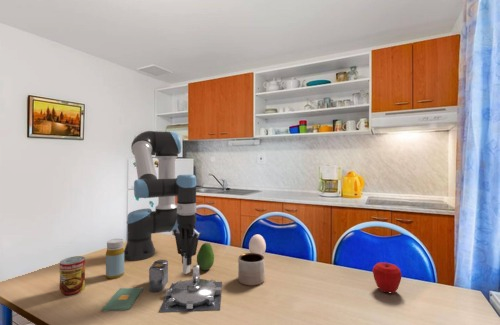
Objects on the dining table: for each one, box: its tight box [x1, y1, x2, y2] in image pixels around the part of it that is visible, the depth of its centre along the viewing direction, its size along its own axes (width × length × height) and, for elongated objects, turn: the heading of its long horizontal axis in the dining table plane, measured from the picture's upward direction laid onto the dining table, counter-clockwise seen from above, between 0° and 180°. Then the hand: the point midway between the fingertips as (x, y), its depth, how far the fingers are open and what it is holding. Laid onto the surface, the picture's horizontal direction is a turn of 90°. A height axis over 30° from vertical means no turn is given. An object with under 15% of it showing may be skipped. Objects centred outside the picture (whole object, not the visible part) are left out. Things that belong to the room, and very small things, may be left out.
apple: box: [372, 262, 403, 293], centre depth 101 cm, size 10×10×11 cm
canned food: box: [59, 255, 86, 298], centre depth 100 cm, size 8×8×12 cm
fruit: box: [196, 242, 215, 271], centre depth 120 cm, size 8×8×12 cm
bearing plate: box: [158, 281, 223, 313], centre depth 97 cm, size 20×20×1 cm
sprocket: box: [165, 264, 222, 309], centre depth 97 cm, size 20×20×8 cm
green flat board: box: [101, 287, 144, 312], centre depth 94 cm, size 14×8×1 cm, turn 4°
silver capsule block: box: [148, 259, 169, 293], centre depth 105 cm, size 12×6×8 cm, turn 4°
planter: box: [237, 252, 266, 287], centre depth 109 cm, size 11×11×10 cm
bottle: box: [105, 238, 125, 280], centre depth 113 cm, size 7×7×15 cm
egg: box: [248, 234, 267, 256], centre depth 136 cm, size 9×9×12 cm
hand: (186, 272), depth 105 cm, fingers closed
